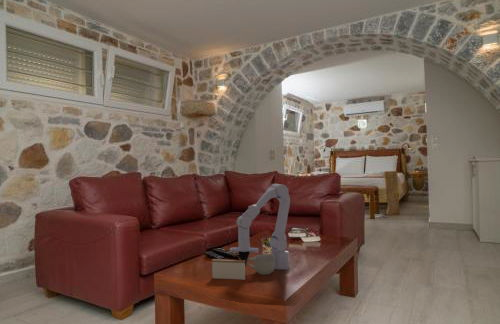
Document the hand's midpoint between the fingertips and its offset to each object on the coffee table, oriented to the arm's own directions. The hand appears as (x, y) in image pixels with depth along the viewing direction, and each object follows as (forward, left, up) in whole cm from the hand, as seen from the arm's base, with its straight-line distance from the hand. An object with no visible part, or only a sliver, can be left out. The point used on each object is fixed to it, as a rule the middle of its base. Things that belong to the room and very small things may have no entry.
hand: (244, 266), depth 169 cm
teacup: (-9, 0, -3) cm, 9 cm away
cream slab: (+6, +10, -3) cm, 12 cm away
